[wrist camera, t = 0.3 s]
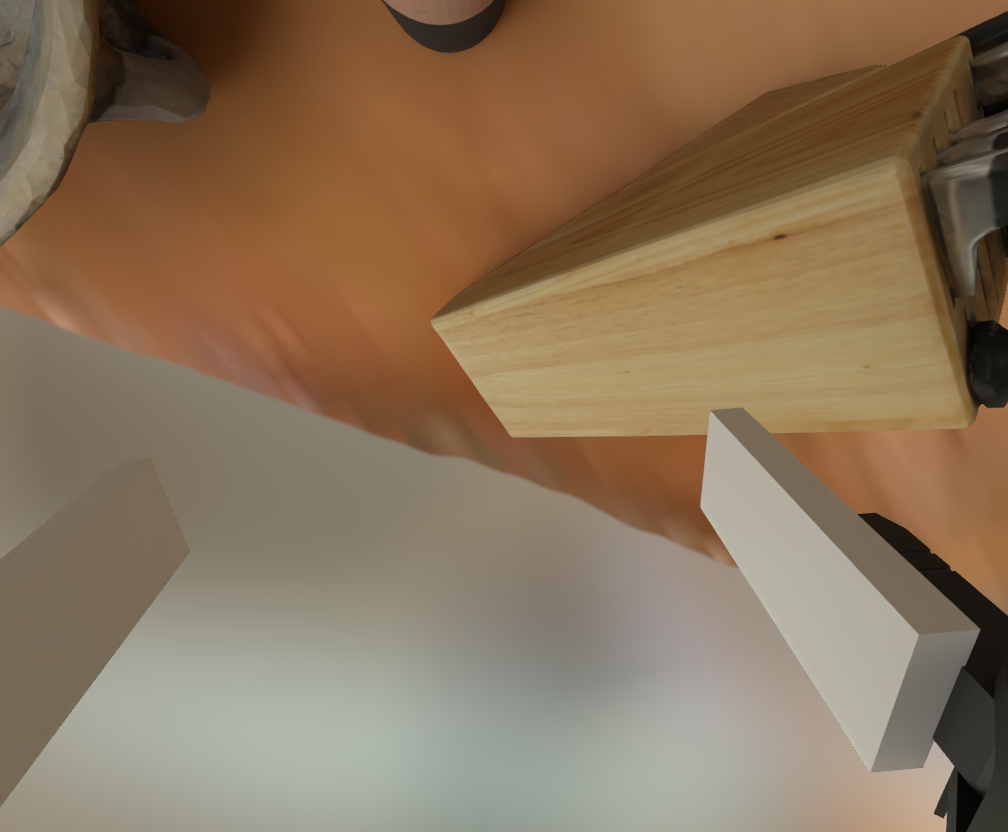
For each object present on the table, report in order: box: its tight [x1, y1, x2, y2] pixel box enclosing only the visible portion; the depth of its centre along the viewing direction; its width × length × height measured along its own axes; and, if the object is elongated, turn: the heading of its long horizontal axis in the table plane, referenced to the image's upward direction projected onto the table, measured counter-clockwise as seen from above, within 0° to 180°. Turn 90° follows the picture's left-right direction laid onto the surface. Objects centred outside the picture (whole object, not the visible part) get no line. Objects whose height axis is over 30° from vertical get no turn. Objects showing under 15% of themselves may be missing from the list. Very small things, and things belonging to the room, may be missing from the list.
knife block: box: [431, 11, 1008, 438], centre depth 24 cm, size 11×35×31 cm, turn 122°
